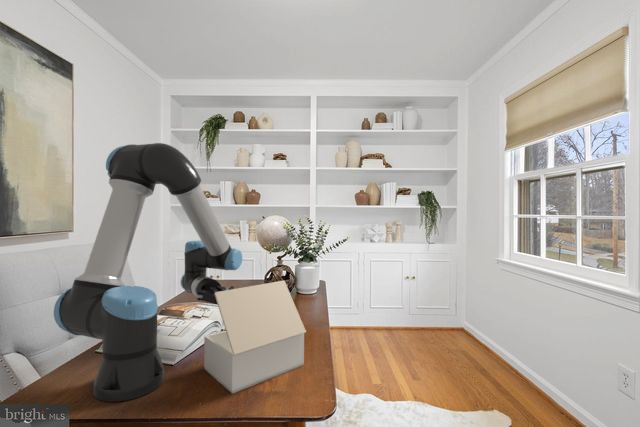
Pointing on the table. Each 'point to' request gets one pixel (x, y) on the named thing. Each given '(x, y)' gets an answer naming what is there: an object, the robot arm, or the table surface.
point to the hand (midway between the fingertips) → (240, 304)
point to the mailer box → (250, 360)
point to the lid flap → (258, 315)
